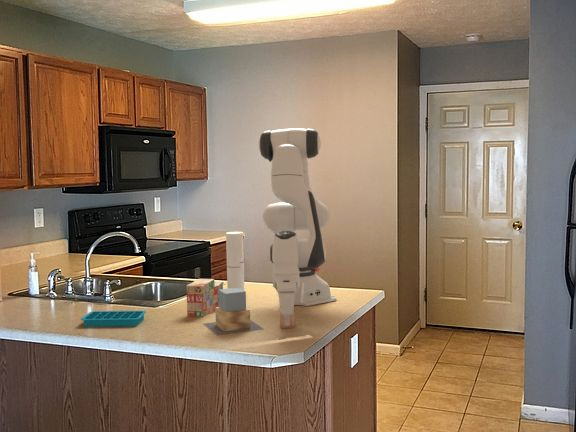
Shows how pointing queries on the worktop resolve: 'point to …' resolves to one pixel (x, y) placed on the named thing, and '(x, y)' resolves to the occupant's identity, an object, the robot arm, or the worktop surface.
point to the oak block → (232, 319)
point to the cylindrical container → (235, 260)
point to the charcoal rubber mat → (219, 331)
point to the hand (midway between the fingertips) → (286, 322)
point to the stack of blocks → (203, 297)
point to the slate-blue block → (232, 299)
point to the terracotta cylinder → (281, 321)
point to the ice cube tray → (113, 318)
